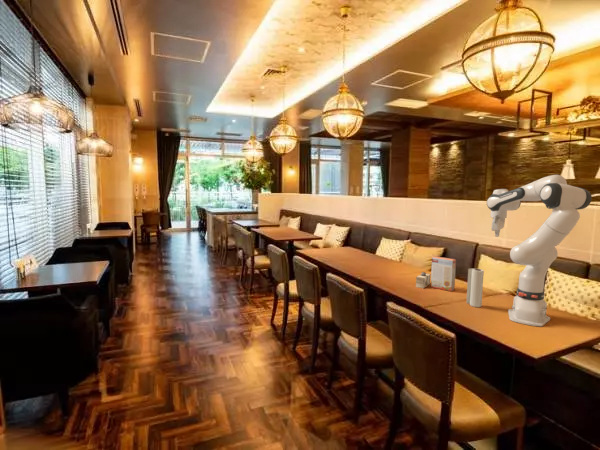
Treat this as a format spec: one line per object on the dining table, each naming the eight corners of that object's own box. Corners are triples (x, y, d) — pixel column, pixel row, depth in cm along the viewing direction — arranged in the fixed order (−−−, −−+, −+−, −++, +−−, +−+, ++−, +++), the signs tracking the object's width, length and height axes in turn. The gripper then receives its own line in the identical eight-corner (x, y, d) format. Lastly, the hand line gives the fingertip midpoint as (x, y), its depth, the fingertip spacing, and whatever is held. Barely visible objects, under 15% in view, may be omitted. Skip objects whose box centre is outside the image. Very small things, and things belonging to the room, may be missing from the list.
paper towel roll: (483, 307, 197) (486, 270, 194) (474, 307, 196) (476, 271, 193) (475, 303, 204) (477, 267, 201) (466, 303, 203) (468, 268, 200)
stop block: (423, 288, 232) (423, 275, 231) (415, 286, 236) (416, 274, 235) (430, 283, 243) (430, 271, 242) (423, 282, 246) (423, 270, 245)
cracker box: (454, 289, 229) (456, 259, 227) (451, 291, 225) (452, 260, 223) (434, 285, 239) (435, 255, 237) (430, 287, 235) (431, 257, 233)
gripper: (501, 216, 205) (499, 239, 207) (507, 214, 221) (505, 235, 223) (489, 215, 209) (488, 238, 211) (496, 213, 225) (494, 234, 227)
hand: (497, 236), depth 217 cm, fingers closed
